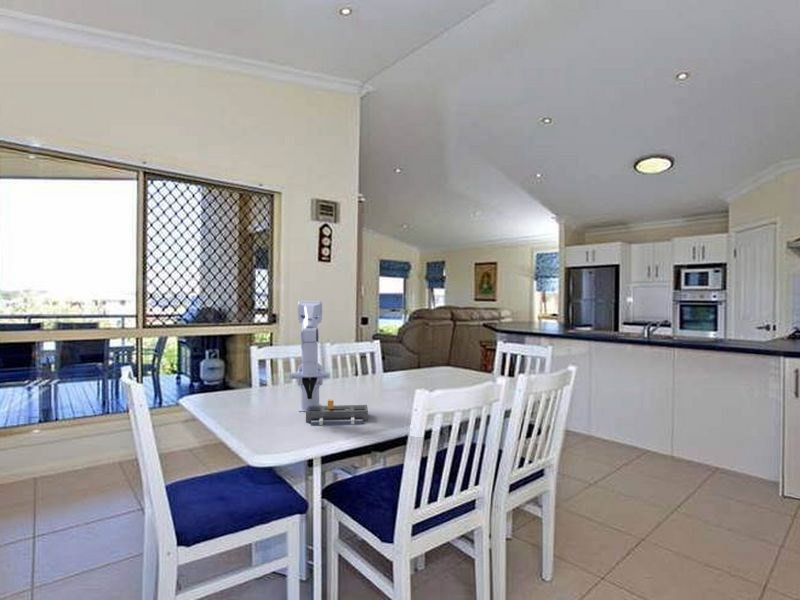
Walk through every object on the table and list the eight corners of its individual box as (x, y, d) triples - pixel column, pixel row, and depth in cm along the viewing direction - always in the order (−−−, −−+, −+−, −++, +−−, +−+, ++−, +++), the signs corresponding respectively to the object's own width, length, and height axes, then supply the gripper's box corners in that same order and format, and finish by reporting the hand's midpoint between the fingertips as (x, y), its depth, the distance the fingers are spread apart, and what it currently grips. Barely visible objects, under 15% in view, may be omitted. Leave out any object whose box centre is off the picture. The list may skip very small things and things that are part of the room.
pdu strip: (308, 415, 176) (308, 405, 176) (366, 414, 179) (367, 404, 179) (305, 422, 168) (305, 412, 167) (367, 420, 170) (368, 410, 170)
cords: (311, 422, 168) (311, 417, 168) (362, 421, 170) (362, 416, 169) (310, 425, 164) (310, 420, 164) (362, 424, 166) (362, 419, 166)
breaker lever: (328, 407, 174) (328, 399, 174) (333, 407, 174) (333, 399, 174) (327, 408, 172) (327, 400, 171) (333, 408, 172) (333, 400, 172)
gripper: (287, 363, 167) (288, 401, 167) (329, 362, 168) (329, 400, 169) (290, 360, 174) (290, 396, 174) (330, 359, 175) (330, 396, 176)
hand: (309, 398), depth 172 cm, fingers closed
